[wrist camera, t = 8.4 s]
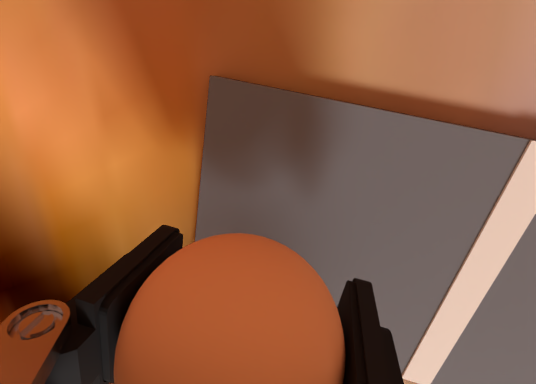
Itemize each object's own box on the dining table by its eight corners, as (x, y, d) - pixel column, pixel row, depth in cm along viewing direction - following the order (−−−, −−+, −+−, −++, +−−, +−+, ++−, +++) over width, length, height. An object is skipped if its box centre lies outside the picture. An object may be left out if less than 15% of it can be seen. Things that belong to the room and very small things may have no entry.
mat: (1149, 263, 9) (1216, 278, 8) (776, 483, 14) (798, 503, 13) (215, 75, 12) (208, 75, 12) (193, 302, 17) (188, 310, 17)
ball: (364, 227, 9) (410, 438, 4) (318, 354, 11) (305, 602, 6) (192, 183, 10) (19, 305, 4) (182, 311, 12) (59, 494, 7)
